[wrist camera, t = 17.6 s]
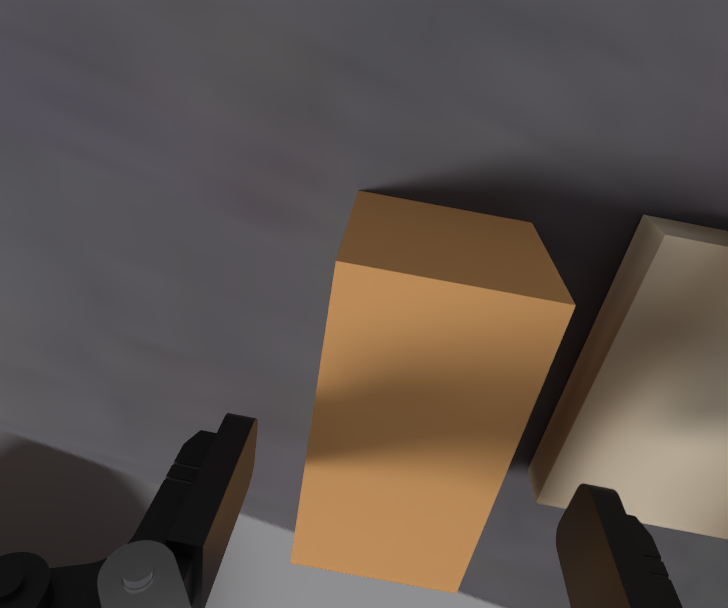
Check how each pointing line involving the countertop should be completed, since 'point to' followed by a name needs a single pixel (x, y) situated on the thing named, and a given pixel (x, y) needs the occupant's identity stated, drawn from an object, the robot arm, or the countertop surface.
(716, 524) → the plywood board
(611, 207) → the countertop surface
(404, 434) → the block
